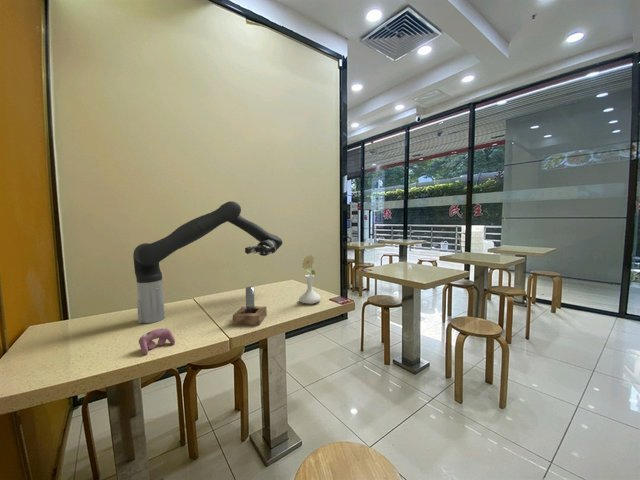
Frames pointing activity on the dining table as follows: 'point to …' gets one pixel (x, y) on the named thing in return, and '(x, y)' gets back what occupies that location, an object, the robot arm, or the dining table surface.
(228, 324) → the dining table surface
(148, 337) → the pink curved piece
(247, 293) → the metal rod
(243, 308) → the square wooden ashtray
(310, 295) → the flower in vase
